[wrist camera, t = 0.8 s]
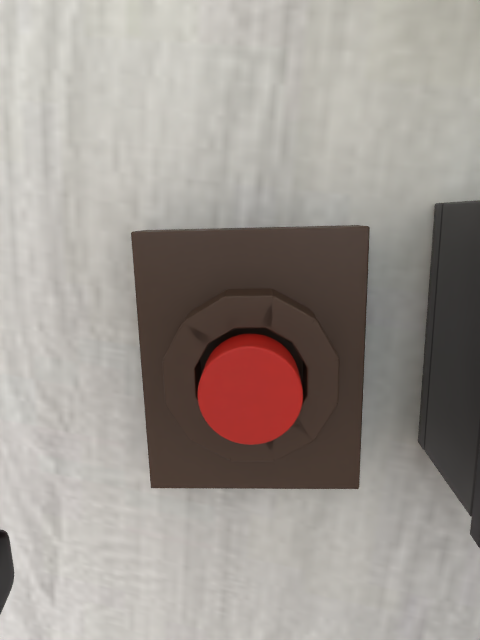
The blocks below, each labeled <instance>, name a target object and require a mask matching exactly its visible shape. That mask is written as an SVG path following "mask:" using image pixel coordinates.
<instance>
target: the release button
mask: <svg viewBox="0 0 480 640" xmlns="http://www.w3.org/2000/svg"><path fill="white" fill-rule="evenodd" d="M302 403H303V388H302V384H301V380H300V375H299V371H298V368H297V365H296V362H295V360H294V358H293V356H292V355H291V353H290V352H289V351H288V350H287V349H286V348H285V347H284V346H283V345H282V344H281V343H279V342H278V341H276V340H275V339H272V338H270V337H268V336H265V335H260V334H241V335H237V336H234V337H231V338H229V339H227V340H225V341H224V342H222V343H221V344H219V345H218V346H217V347H216V348H215V349H214V350H213V352H212V353H211V354H210V356H209V358H208V360H207V362H206V364H205V367H204V370H203V373H202V375H201V378H200V381H199V385H198V404H199V408H200V411H201V413H202V415H203V417H204V419H205V421H206V422H207V423H208V425H209V426H210V427H211V428H212V429H213V430H214V431H215V432H216V433H218V434H219V435H220V436H222V437H224V438H225V439H228V440H230V441H232V442H236V443H240V444H248V445H254V444H262V443H266V442H269V441H272V440H274V439H276V438H278V437H280V436H281V435H283V434H284V433H285V432H286V431H288V430H289V429H290V427H291V426H292V425H293V424H294V422H295V421H296V419H297V418H298V416H299V413H300V411H301V408H302Z"/></svg>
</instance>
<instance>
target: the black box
mask: <svg viewBox="0 0 480 640" xmlns="http://www.w3.org/2000/svg"><path fill="white" fill-rule="evenodd" d="M418 442H419V444H420V445H421V447H422V448H423V449H424V450H425V452H426V453H427V455H428V456H429V458H430V459H431V461H432V462H433V463H434V465H435V466H436V468H437V469H438V471H439V472H440V473H441V475H442V476H443V478H444V479H445V481H446V482H447V483H448V485H449V486H450V488H451V489H452V491H453V492H454V493H455V495H456V496H457V498H458V499H459V501H460V502H461V503H462V505H463V506H464V508H465V509H466V511H467V512H468V513H469V515H470V516H472V510H473V501H474V492H475V482H476V473H477V463H478V454H479V445H480V201H465V202H450V203H436V204H435V215H434V229H433V243H432V256H431V270H430V284H429V298H428V312H427V325H426V339H425V353H424V367H423V381H422V395H421V408H420V422H419V436H418Z"/></svg>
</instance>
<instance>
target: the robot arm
mask: <svg viewBox="0 0 480 640" xmlns="http://www.w3.org/2000/svg"><path fill="white" fill-rule="evenodd" d="M13 581H14V567H13V560H12V553H11V547H10V540H9V536H8V534H7V532H6V531H4V530H0V614H1V612H2V609H3V607H4V605H5V603H6V600H7V598H8V596H9V593H10V591H11V588H12V585H13Z"/></svg>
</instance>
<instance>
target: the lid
mask: <svg viewBox="0 0 480 640" xmlns="http://www.w3.org/2000/svg"><path fill="white" fill-rule="evenodd" d="M470 535H471V536H472V538H473V539H474V541H475V542H476V544H477V545H478V547H479V548H480V445H479V454H478V463H477V473H476V482H475V492H474V501H473V510H472V520H471V529H470Z"/></svg>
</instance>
